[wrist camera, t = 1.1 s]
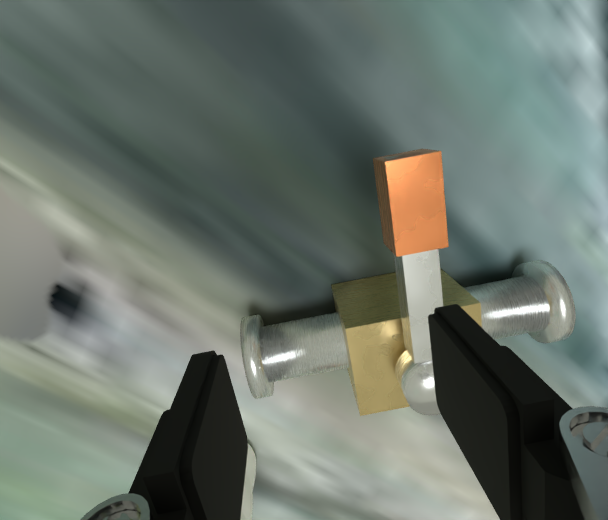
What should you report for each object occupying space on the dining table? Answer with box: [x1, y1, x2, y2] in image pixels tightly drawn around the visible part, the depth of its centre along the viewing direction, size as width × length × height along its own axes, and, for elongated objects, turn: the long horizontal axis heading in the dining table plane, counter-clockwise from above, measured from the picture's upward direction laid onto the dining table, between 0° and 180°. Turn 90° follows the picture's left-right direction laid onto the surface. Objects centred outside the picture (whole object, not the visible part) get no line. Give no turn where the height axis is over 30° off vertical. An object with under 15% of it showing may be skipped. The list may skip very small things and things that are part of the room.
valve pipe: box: [241, 260, 575, 416], centre depth 31 cm, size 7×24×9 cm, turn 101°
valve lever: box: [373, 149, 448, 415], centre depth 24 cm, size 16×4×3 cm, turn 11°
